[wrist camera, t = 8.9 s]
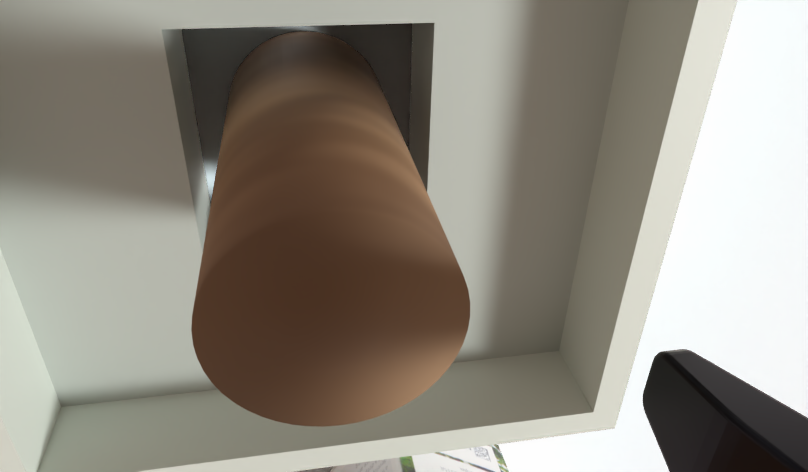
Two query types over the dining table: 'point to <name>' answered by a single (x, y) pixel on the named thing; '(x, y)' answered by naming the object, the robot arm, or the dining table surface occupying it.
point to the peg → (322, 246)
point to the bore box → (443, 180)
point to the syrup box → (436, 462)
